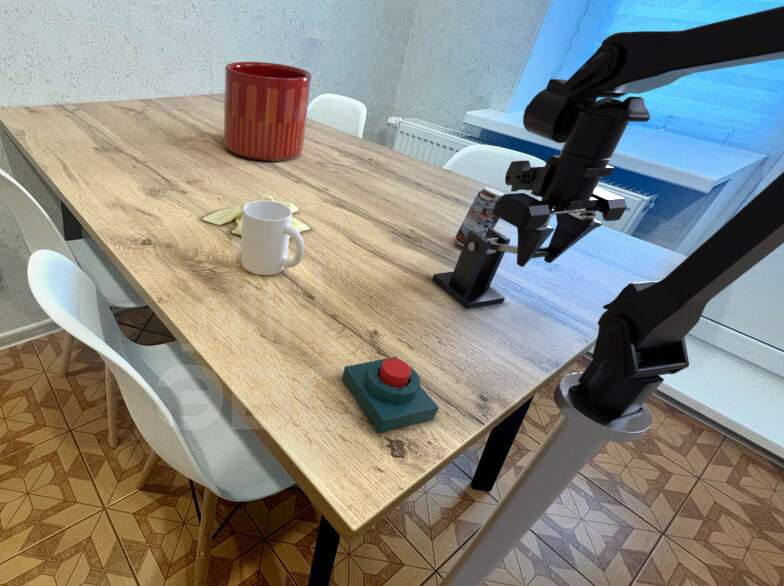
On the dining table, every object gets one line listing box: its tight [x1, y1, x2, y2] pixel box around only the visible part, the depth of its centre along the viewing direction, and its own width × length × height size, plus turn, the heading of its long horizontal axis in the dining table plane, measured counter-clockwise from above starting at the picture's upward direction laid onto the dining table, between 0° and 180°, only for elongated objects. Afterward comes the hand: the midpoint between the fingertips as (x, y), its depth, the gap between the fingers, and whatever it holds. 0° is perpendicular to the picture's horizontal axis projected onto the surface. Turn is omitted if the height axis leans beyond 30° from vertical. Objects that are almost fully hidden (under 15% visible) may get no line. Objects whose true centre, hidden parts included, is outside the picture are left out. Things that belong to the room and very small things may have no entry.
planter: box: [223, 61, 312, 162], centre depth 129 cm, size 23×23×20 cm
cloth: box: [201, 194, 311, 239], centre depth 96 cm, size 22×19×6 cm
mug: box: [240, 200, 305, 276], centre depth 80 cm, size 12×8×10 cm
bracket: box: [431, 228, 511, 310], centre depth 80 cm, size 10×8×11 cm
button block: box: [341, 356, 440, 434], centre depth 59 cm, size 10×8×4 cm
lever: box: [485, 236, 553, 260], centre depth 73 cm, size 12×5×2 cm, turn 20°
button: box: [379, 357, 411, 388], centre depth 57 cm, size 4×4×2 cm
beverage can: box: [455, 186, 507, 247], centre depth 94 cm, size 6×7×12 cm
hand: (533, 263), depth 69 cm, fingers closed on lever, 5 cm apart
